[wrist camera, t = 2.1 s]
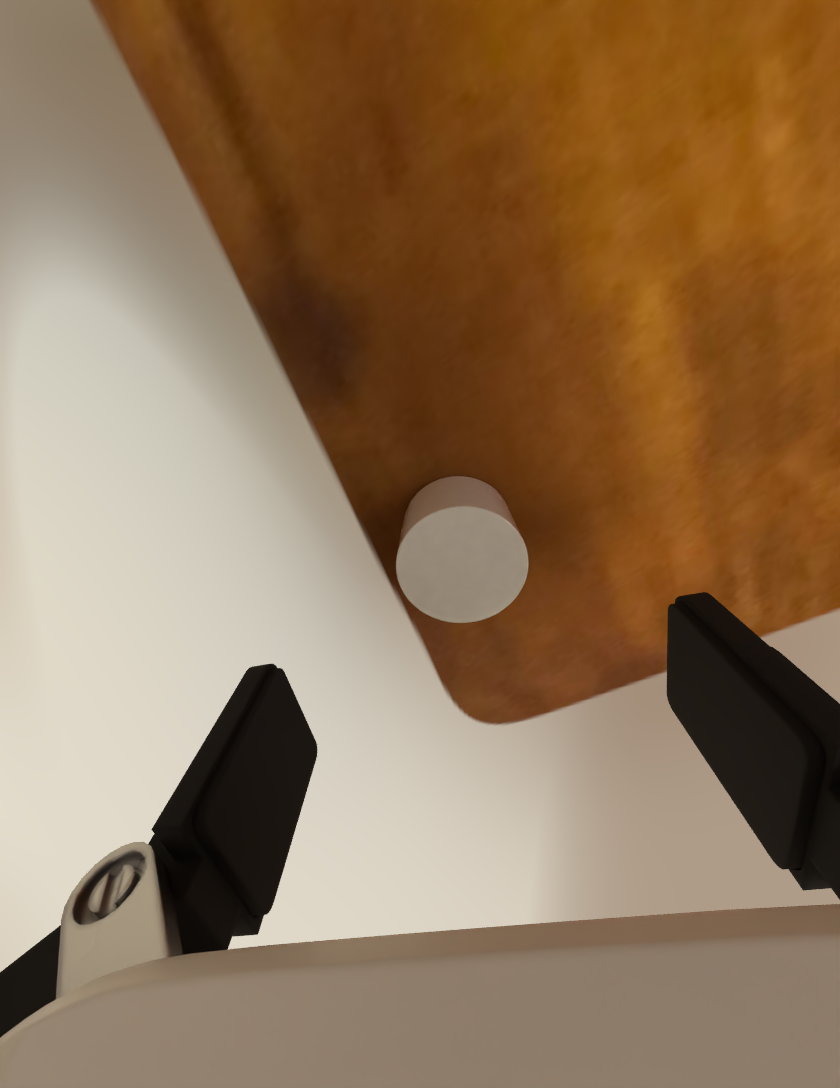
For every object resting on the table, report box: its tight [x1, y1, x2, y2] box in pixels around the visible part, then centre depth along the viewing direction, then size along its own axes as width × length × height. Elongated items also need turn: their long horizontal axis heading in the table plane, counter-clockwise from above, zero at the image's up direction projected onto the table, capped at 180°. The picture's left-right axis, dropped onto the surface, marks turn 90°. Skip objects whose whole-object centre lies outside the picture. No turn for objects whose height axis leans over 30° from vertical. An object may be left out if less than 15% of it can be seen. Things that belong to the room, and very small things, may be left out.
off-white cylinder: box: [396, 476, 529, 623], centre depth 16 cm, size 5×5×4 cm
